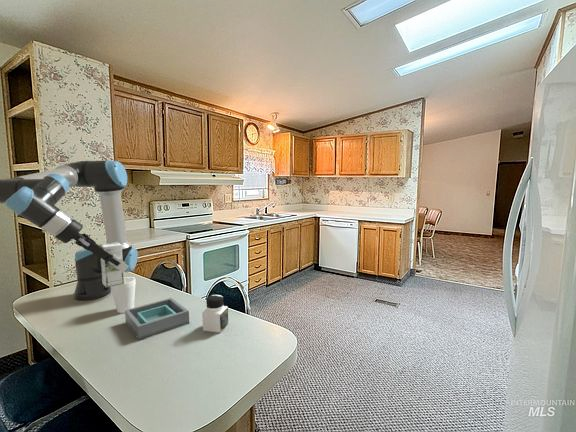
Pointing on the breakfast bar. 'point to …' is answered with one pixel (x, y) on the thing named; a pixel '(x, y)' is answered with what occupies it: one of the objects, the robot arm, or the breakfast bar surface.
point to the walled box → (156, 318)
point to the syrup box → (109, 272)
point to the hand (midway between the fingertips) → (123, 267)
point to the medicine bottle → (215, 314)
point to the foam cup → (124, 294)
